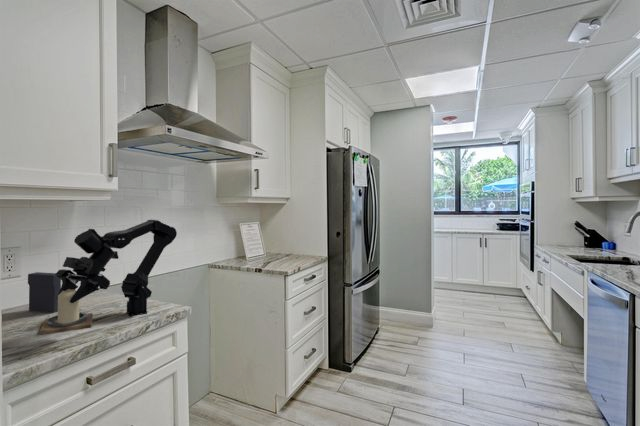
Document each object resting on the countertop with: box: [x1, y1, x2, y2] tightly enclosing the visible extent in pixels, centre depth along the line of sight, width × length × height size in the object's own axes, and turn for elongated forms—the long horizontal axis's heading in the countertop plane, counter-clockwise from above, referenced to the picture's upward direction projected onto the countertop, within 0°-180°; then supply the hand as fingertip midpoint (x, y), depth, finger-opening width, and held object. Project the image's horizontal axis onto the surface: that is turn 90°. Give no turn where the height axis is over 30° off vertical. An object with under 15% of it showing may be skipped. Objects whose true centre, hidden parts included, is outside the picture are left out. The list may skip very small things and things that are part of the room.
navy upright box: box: [27, 271, 62, 314], centre depth 131 cm, size 11×4×15 cm, turn 84°
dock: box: [38, 311, 94, 335], centre depth 117 cm, size 14×14×2 cm
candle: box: [57, 289, 80, 323], centre depth 106 cm, size 6×6×10 cm
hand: (64, 301), depth 105 cm, fingers closed on candle, 5 cm apart
